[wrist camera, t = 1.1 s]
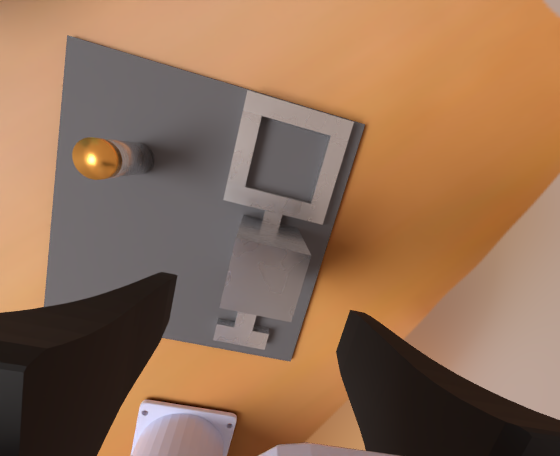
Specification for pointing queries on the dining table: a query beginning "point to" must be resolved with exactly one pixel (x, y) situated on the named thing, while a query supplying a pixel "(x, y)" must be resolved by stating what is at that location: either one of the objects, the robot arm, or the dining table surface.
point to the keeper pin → (111, 158)
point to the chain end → (273, 223)
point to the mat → (174, 191)
